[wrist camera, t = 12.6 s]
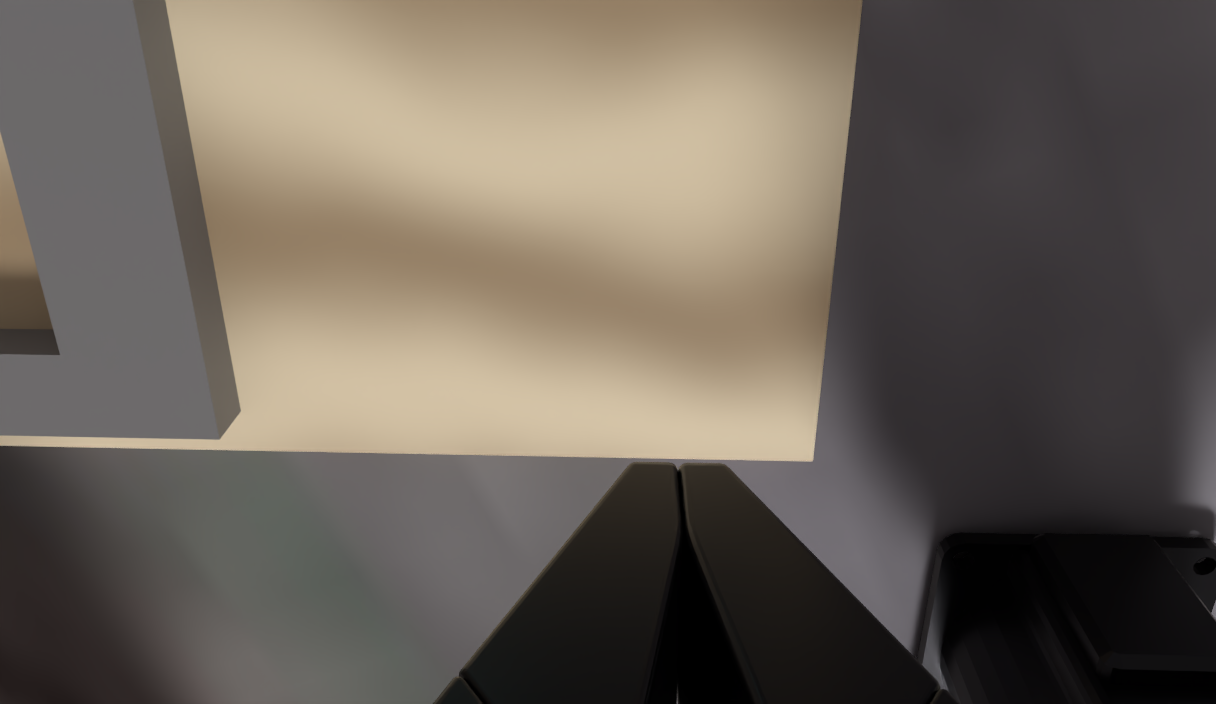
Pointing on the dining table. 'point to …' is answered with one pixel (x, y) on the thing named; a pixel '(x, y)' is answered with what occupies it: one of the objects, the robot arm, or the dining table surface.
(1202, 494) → the dining table surface
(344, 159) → the patch board
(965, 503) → the dining table surface
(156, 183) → the gray square frame
